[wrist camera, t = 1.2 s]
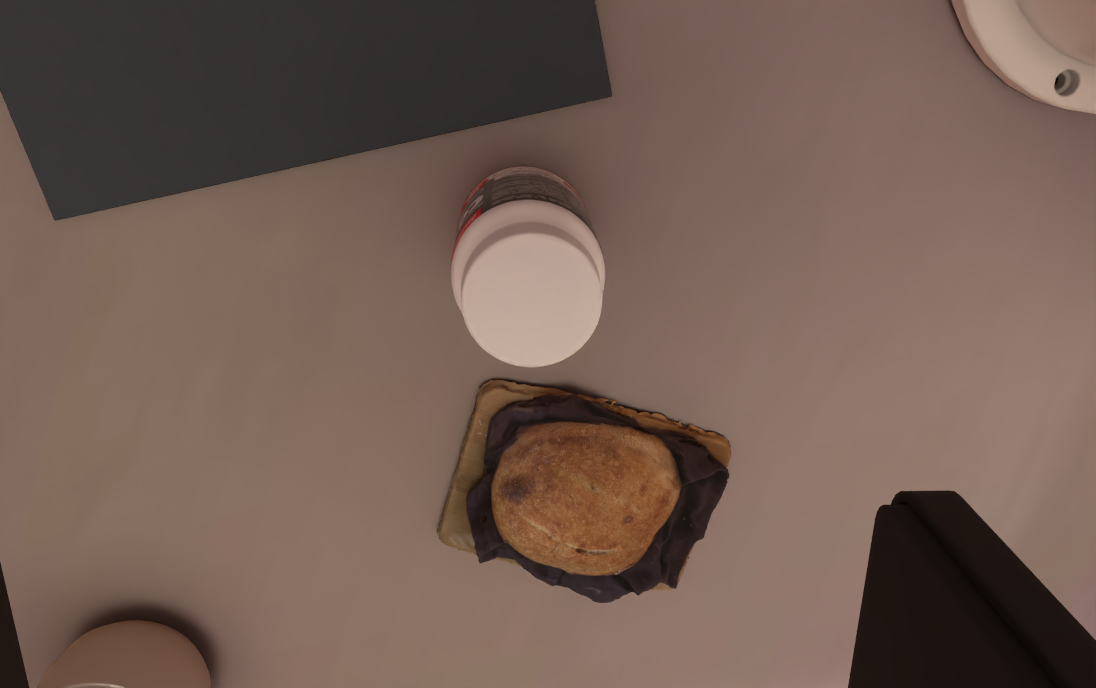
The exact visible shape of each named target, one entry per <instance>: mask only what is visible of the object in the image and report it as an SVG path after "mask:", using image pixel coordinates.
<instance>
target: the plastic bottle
mask: <svg viewBox="0 0 1096 688" xmlns="http://www.w3.org/2000/svg"><path fill="white" fill-rule="evenodd" d="M37 688H211V681H210V674H209V671H208V669H207V666H206V664H205V661H204V660H203V658H202V656H201V654H200V652H199V651H198V650H197V648H196V647H195V645H194V644H193V643H192V642H191V641H190V640H189V639H188V638H187V637H186V636H184V635H183V634H181V633H180V632H178V631H177V630H175V629H172V628H170V627H168V626H166V625H163V624H159V623H156V622H152V621H143V620H128V621H122V622H117V623H112V624H108V625H104V626H101V627H98V628H96V629H93V630H91V631H89V632H87V633H85V634H84V635H82V636H81V637H79V638H78V639H77V640H76V641H75V642H74V643H73V644H72V645H71V646H70V647H68V648H67V649H66V650H65V651H64V652H63V653H62V654H61V655H60V656H59V657H58V658H57V659H56V660H55V661H54V662H53V663H52V664H51V665H50V666H49V667H48V669H47V671H46V672H45V674H44V675H43V677H42V679H41V681H40V683H39V685H38V687H37Z"/></svg>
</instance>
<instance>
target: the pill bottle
mask: <svg viewBox="0 0 1096 688" xmlns="http://www.w3.org/2000/svg"><path fill="white" fill-rule="evenodd" d="M451 282H452V289H453V294H454V297H455V300H456V303H457V305H458V307H459V309H460V311H461V312H462V314H463V317H464V321H465V323H466V326H467V328H468V330H469V332H470V334H471V335H472V337H473V338H474V339H475V340H476V342H477V343H478V344H479V345H480V346H481V347H482V348H483V349H484V350H485V351H486V352H488V353H489V354H490V355H492V356H493V357H495V358H497V359H499V360H501V361H503V362H506V363H509V364H512V365H516V366H521V367H541V366H546V365H551V364H554V363H557V362H560V361H562V360H564V359H566V358H568V357H569V356H571V355H572V354H574V353H575V352H577V351H578V350H579V349H580V348H581V347H582V346H583V345H584V344H585V343H586V342H587V341H588V339H589V338H590V337H591V335H592V333H593V332H594V330H595V328H596V326H597V324H598V321H599V318H600V314H601V309H602V294H603V290H604V284H605V265H604V259H603V254H602V250H601V247H600V244H599V242H598V240H597V238H596V235H595V232H594V230H593V227H592V225H591V222H590V220H589V217H588V214H587V211H586V209H585V206H584V204H583V203H582V201H581V199H580V197H579V196H578V194H577V193H576V192H575V190H574V189H573V188H572V187H571V186H570V185H569V184H568V183H567V182H566V181H564V180H563V179H562V178H560V177H559V176H557V175H555V174H553V173H551V172H549V171H546V170H543V169H539V168H535V167H524V166H520V167H512V168H507V169H504V170H501V171H498V172H496V173H494V174H492V175H490V176H489V177H487V178H486V179H484V180H483V181H482V182H480V183H479V184H478V185H477V186H476V187H475V188H474V189H473V191H472V192H471V193H470V195H469V197H468V198H467V200H466V202H465V204H464V206H463V208H462V211H461V215H460V219H459V223H458V230H457V235H456V241H455V246H454V251H453V256H452V262H451Z"/></svg>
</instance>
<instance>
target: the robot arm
mask: <svg viewBox="0 0 1096 688" xmlns="http://www.w3.org/2000/svg"><path fill="white" fill-rule="evenodd" d="M952 5H953V7H954V9H955V12H956V14H957V17H958V19H959V22H960V24H961V27H962V29H963V32H964V34H965V36H966V38H967V39H968V41H969V42H970V44H971V45H972V47H973V48H974V50H975V51H976V53H977V54H978V55H979V57H980V58H981V60H982V61H983V63H984V64H985V65H986V66H987V67H988V68H990V69H991V70H992V71H993V72H994V73H995V74H996V75H997V76H998V77H999V78H1000V79H1001V80H1003V81H1004V82H1005V83H1006V84H1007V85H1008V86H1010V87H1012V88H1014V89H1016V90H1017V91H1019V92H1021V93H1023V94H1024V95H1026V96H1028V97H1030V98H1031V99H1033V100H1036V101H1039V102H1042V103H1046V104H1049V105H1052V106H1056V107H1059V108H1062V109H1067V110H1074V111H1080V112H1086V113H1092V114H1096V0H952ZM1057 76H1058V78H1059V79H1058V83H1057V84H1056V85H1055V86H1054V84H1055V80H1056V78H1057ZM0 688H29V685H28V680H27V676H26V672H25V667H24V663H23V659H22V654H21V650H20V646H19V641H18V637H17V633H16V628H15V624H14V620H13V615H12V611H11V607H10V602H9V598H8V594H7V589H6V585H5V581H4V576H3V572H2V568H1V563H0ZM848 688H1096V640H1095V639H1094V638H1093V637H1092V636H1091V635H1090V634H1089V633H1088V632H1087V631H1086V630H1085V629H1084V627H1083V626H1082V625H1081V624H1080V623H1079V622H1078V621H1077V620H1076V619H1075V618H1074V617H1073V616H1072V615H1071V614H1070V613H1069V611H1068V610H1067V609H1066V608H1065V607H1064V606H1063V605H1062V604H1061V603H1060V602H1059V601H1058V600H1057V599H1056V598H1055V596H1054V595H1053V594H1052V593H1051V592H1050V591H1049V590H1048V589H1047V588H1046V587H1045V586H1044V585H1043V584H1042V583H1041V582H1040V580H1039V579H1038V578H1037V577H1036V576H1035V575H1034V574H1033V573H1032V572H1031V571H1030V570H1029V569H1028V568H1027V567H1026V565H1025V564H1024V563H1023V562H1022V561H1021V560H1020V559H1019V558H1018V557H1017V556H1016V555H1015V554H1014V553H1013V552H1012V550H1011V549H1010V548H1009V547H1008V546H1007V545H1006V544H1005V543H1004V542H1003V541H1002V540H1001V539H1000V538H999V537H998V536H997V534H996V533H995V532H994V531H993V530H992V529H991V528H990V527H989V526H988V525H987V524H986V523H985V522H984V521H983V519H982V518H981V517H980V516H979V515H978V514H977V513H976V512H975V511H974V510H973V509H972V508H971V507H970V506H969V505H968V503H967V502H966V501H965V500H964V499H963V498H962V497H961V496H960V495H959V494H957V493H956V492H955V491H900V492H899V493H897V494H896V495H895V497H894V499H893V500H892V503H891V505H882V506H881V507H880V508H879V509H878V511H877V514H876V518H875V524H874V530H873V536H872V542H871V548H870V555H869V561H868V567H867V573H866V579H865V586H864V592H863V598H862V604H861V611H860V617H859V623H858V629H857V635H856V642H855V648H854V654H853V660H852V666H851V673H850V679H849V685H848Z"/></svg>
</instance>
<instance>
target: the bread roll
mask: <svg viewBox="0 0 1096 688" xmlns="http://www.w3.org/2000/svg"><path fill="white" fill-rule="evenodd" d="M492 380H493V379H492ZM492 380H489V382H487V383H485V384H484V385H482V386H483V387H482V388H481V389H479V391H478V394H479V396H477V403H476V405H475V406H476V407H475V413H474V414H472V418H471V423H470V424H469V427H468V429H469V431H467V436H466V439H465V442H464V443H463V444H462V448H461V453H460V458H459V463H458V467H457V469H456V471H455V473H454V478H453V480H452V483H451V486H450V491H449V494H448V498H447V501H446V505H445V507H444V509H443V514H442V519H441V521H440V527H439V528H438V529H437V533H439V534H437V535H439V539H440V540H441V541H442V543H444V544H446V545H448V546H451V547H454V548H457V549H459V550H463V551H467V552H469V553H474V554H476V555H477V556H478V558H479V563H483V562H486V561H489V560H492V559H498V560H502V561H506V562H509V563H511V564H515V565H519V566H522V567H523V568H524V569H526V570H527V571H528V572H530V573H531V574H532V575H533V576H534V577H536V578H537V579H540V580H542V581H544V582H546V583H548V584H549V585H551V586H555V585H558V586H563V587H568V588H570V589H571V590H573V591H575V592H577V593H579V594H581V595H584V596H587V597H588V598H590V599H592V600H593V601H595V602H599V603H607V602H612V601H614V600H615V599H619V598H621V597H622V596H623V595H626V594H628V593H630V592H634V593H636V594H637V595H639V594H641V593H642V592H644V591H648V590H650V589H652V590H667V591H668V590H671V589H673V588H674V589H676V587H677V584H678V582H679V580H680V577H681V575H682V572H683V569H684V567H685V565H686V562H687V559H688V558H689V554H690V552H691V550H692V548H693V545H694V543H695V542H697V541H698V540H700V539H702V538H704V534H705V531H706V529H707V524H708V522H709V519H710V516H711V514H712V512H713V510H714V508H715V507H716V505H717V503H718V502H719V500H720V498H721V496H722V493H723V491H724V489H725V487H726V484H727V479H728V478H729V473H728V469H727V468H726V467H727V465H728V462H729V460H730V457H731V449H730V445H729V441H726V439H725V438H724V437H723V436H719V435H718V434H717V433H712V432H709V433H706V432H704V431H703V430H702V429H700V428H697V427H695V426H693V425H691V424H690V425H689V427H688V428H687V427H685V426H682V425H681V423H680V421H679V423H676V422H673V421H669V420H667V419H666V418H665V417H664V416H663V415H661V414H658V413H654V414H651V415H650V414H649V413H648V412H642V413H637V412H636V411H635V410H632V409H624V407H622V406H615V405H613V404H614V403H615V402H616V401H612V403H611V405H609V404H607V403H605V401H608V400H607V399H602V398H597V399H596V400H594V398H593V397H589V396H586V395H583V394H581V393H580V394H579V395H575V394H573V393H569V392H568V391H567V392H564V391H562V390H561V389H560V390H557V389H555V388H546V389H545V388H542V387H531V386H528V385H526V384H522V385H516V383H515V382H507V381H503V380H495V381H492ZM610 401H611V400H610Z"/></svg>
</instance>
